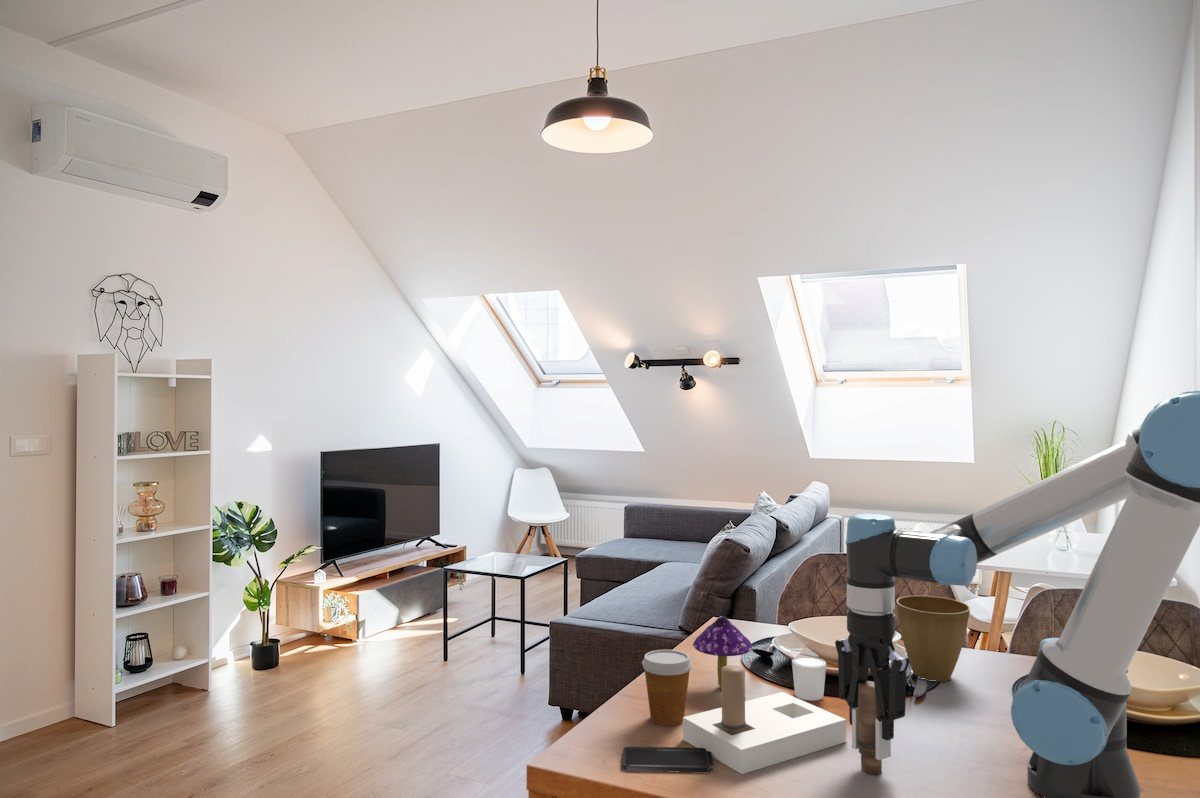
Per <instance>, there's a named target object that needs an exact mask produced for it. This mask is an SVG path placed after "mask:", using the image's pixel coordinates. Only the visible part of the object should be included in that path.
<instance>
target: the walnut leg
mask: <svg viewBox="0 0 1200 798" xmlns="http://www.w3.org/2000/svg"><path fill="white" fill-rule="evenodd" d="M879 716H880V715H879V709H878V703H877V697H876V691H875V685H874V680H873V681H872V680H867V681H863V682H859V683H858V744H859V748H858V753H859V754H860V757H861V758H860V766H861V767H860V769H861V772H862V773H864V774H867V775H870V776H877V775H878V776H879V775H881V774H882V771H883V770H882V765H883V763H882V762H883V761H882V760H883V759H882V760H877V759H876V735H875V718H877V717H879Z"/></svg>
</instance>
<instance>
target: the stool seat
mask: <svg viewBox="0 0 1200 798" xmlns="http://www.w3.org/2000/svg"><path fill="white" fill-rule="evenodd" d="M682 740H683V741H685V742H686V743H688V744H690V745H691V746H693V747H694V748H696V747H697V748H705V749H706V750H707V751H710V752H711V755H712V758H713V757H714V758H713V759H715V760H717V761H718V760H719V762H720V763H721V764H722V765H723V764H724V765H725V764H726V765H725V766H727V767H729V768H730V769H732V770H734V771H736V772H737V773H739V774H741V775H744V774H747V773H750V772H753V771H757V770H761V769H763V768H767V767H770V766H772V765H777V764H779V763H784V762H786V761H789V760H792V759H795V758H799V757H802V756H806V755H808V754H812V753H815V752H818V751H822V750H824V749H827V748H832V747H834V746H838V745H840V744H845V743H846V742H847V719H846V718H844V717H841V716H839V715H837V714H835V713H832V712H830V711H828V710H825V709H823V708H821V707H818V706H816V705H814V704H812V703H810V702H807V701H806V700H803V699H800V698H798V697H796V696H793V695H791V694H789V693H786V692H784V691H780V692H778V693H774V694H769V695H764V696H761V697H758V698H757V697H756V698H753V699H750V700H749V699H748V700H746V669H745V667H742V666H740V665H727V666H724V667H722V687H721V707H719V708H714V709H710V710H706V711H701V712H698V713H694V714H691V715H687V716H684V717H683V722H682Z"/></svg>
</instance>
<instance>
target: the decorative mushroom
mask: <svg viewBox="0 0 1200 798" xmlns="http://www.w3.org/2000/svg"><path fill="white" fill-rule="evenodd" d="M692 645H693V647H694V649H695V650H696V651H698V652H699V653H703V654H706V655H710V656H714V657H715V656H716V657H717V670H716V671H717V684H718V686H719V687H720V688H722V667H724V666H728V657H734V656H742V655H745V654H747V653H749V652H751V651H752V648H753V643H752V642H751V641H750V640H749V638H748V637H747V636H745V635H744V634H743V633H742V632H741V630H740V629H739V628H738V627H737V626H736V625H734V624H733V623H732V622H731V621H730V619H728V618H727V616H723V615H722V616H721V615H720V616H719V617H717V619H716V620H715V621H713V623H711V624H710V625H708V626H707V627H706V628H704V630H703V631H702V632H700V634H699V635H698V636H697V637H696V638H695V640H694V642H693V643H692Z"/></svg>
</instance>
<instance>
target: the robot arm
mask: <svg viewBox="0 0 1200 798" xmlns="http://www.w3.org/2000/svg"><path fill="white" fill-rule="evenodd" d="M1122 501H1125V502H1124V503H1123V505H1122V507H1121V510H1120V512H1119V514H1118V515H1117V518H1116V519H1115V522H1114V524H1113V526H1112V528H1111V531H1110V533H1109V535H1108V537H1107V539H1106V541H1105V543H1104V545H1103V547H1102V550H1101V551H1100V554H1099V555H1098V558H1097V560H1096V562H1095V564H1094V565H1093V567H1092V570H1091V572H1090V574H1089V577H1088V578H1087V581H1086V582H1085V584H1084V587H1083V588H1082V591H1081V593H1080V596H1078V599H1077V601H1076V604H1075V606H1074V607H1073V609H1072V612H1071V614H1070V616H1069V618H1068V619H1067V622H1066V624H1065V626H1064V628H1063V630H1062V633H1061V635H1060V637H1048V638H1044V639H1041V641H1040V644H1039V650H1038V652H1037V657H1036V658H1035V661H1034V663H1033V665H1032V667H1031V668H1030V671H1029V673H1028V675H1027V677H1026V678H1025V681H1024V683H1023V684H1022V685H1021V686H1020V687H1019V688H1017V690H1016V691H1015V693H1014V695H1013V698H1012V703H1011V706H1010V707H1011V708H1010V715H1011V722H1012V724H1013V727H1014V728H1015V731H1016V733H1017V735H1018V737H1019V738H1020V739H1021V741H1022V742H1023V743H1024V744H1025V746H1027V748H1028V749H1030V750H1031V751H1032V753H1031V756H1030V759H1029V761H1028V764H1027V784H1028V787H1030V789H1033V790H1032V791H1033V792H1034V793H1036V794H1037V793H1038V794H1037V795H1039V794H1040V795H1041V796H1040V795H1039V796H1040V797H1042V796H1043V797H1045V798H1141V793H1142V792H1141V785H1140V784H1139V781H1138V777H1137V775H1136V772H1135V768H1134V766H1133V763H1132V761H1131V757H1130V756H1129V753H1128V748H1127V747H1128V746H1127V732H1128V731H1127V730H1128V729H1127V728H1128V727H1127V725H1128V724H1127V723H1128V722H1127V721H1128V720H1127V700H1128V698H1129V697H1130V694H1131V693H1132V689H1133V687H1132V683H1131V682H1130V679H1129V678H1128V675H1127V673H1129V666H1130V664H1131V662H1132V661H1133V658H1134V656H1135V654H1136V652H1137V650H1138V648H1139V646H1140V645H1141V643H1142V641H1143V639H1144V637H1145V635H1146V633H1147V631H1148V628H1149V627H1150V625H1151V623H1152V621H1153V619H1154V616H1155V615H1156V614H1157V611H1158V609H1159V607H1160V605H1161V603H1162V601H1163V600H1164V597H1165V595H1166V593H1167V591H1168V590H1169V587H1170V585H1171V583H1172V582H1173V579H1174V578H1175V575H1176V573H1177V571H1178V569H1179V568H1180V565H1181V563H1182V562H1183V560H1184V557H1185V556H1186V554H1187V552H1188V550H1189V548H1190V546H1191V545H1192V544H1191V543H1192V542H1193V540H1194V538H1195V536H1196V534H1197V532H1198V530H1199V528H1200V390H1193V391H1185V392H1180V393H1177V394H1174V395H1171V396H1169V397H1167V398H1165V399H1162V400H1161V401H1160V402H1159V403H1157V405H1155V406H1154V407H1153V409H1151V410H1150V411H1149V412H1148V413H1147V415H1146V417H1145V418H1144V419H1143V421H1142V424H1141V425H1138V426H1136V427H1134V428H1132V429H1130V430H1129V431H1128V433H1127V437H1126V439H1125V440H1124V441H1121V442H1119V443H1117V444H1115V445H1113V446H1110V447H1109V448H1106V449H1105V450H1102V451H1101V452H1098V453H1096V454H1094V455H1092V456H1089V457H1087V458H1085V459H1083V460H1082V461H1080V462H1078V463H1075V464H1073V465H1071V466H1069V467H1067V468H1065V469H1062V470H1061V471H1058V472H1056V473H1054V474H1052V475H1049V476H1048V477H1046V478H1044V479H1042V480H1039V481H1037V482H1036V483H1033V484H1031V485H1029V486H1027V487H1025V488H1023V489H1021V490H1018V491H1017V492H1014V493H1012V494H1010V495H1008V496H1006V497H1004V498H1001V499H1000V500H998V501H995V502H993V503H992V504H990V505H989V504H988V505H987V506H985V507H983V508H980V509H978V510H976V511H974V512H973V513H971V514H968V515H966V516H963V517H962V518H959V519H958V520H955V521H953V522H951V523H948V524H946V525H944V526H942V527H941V528H937V529H935V530H932V531H930V532H920V531H919V532H918V531H909V530H908V531H906V530H901V529H897V527H896V525H895V519H894V518H893V517H892V516H890V515H884V514H881V513H880V514H878V513H861V514H860V513H858V514H855V515H851V516H850V517H849V518H848V520H847V523H846V524H847V525H846V527H847V528H846V540H845V545H846V606H847V607H848V609H847V610H846V629H847V632H848V637H846V638H845V637H844V638H839V639H836V640H835V642H834V645H835V648H836V652H837V665H838V696H839V699H840V700H844V701H845V702H846V703H847V705H848V707H849V708H848V709H849V712H848V713H849V714H848V715H849V718H848V719H849V724H850V726H851V729H852V730H851V738H852V739H851V742H852V743H851V744H852V746H851V747H852V749H854V750H857V749H858V750H859V744H858V683H859V682H863V681H868V674H870V676H871V677H873V682H874V685H875V691H876V697H877V703H878V709H879V715H880V716H879V717H877V718H875V735H876V759H877V760H885V759H887V758H890V757H892V747H891V746H892V745H891V744H892V742H891V741H892V740H893V739H894V737H895V736H894V735H895V720H899V719H901V718H905V716H906V697H907V696H906V693H907V692H906V691H907V690H906V687H907V670H908V667H909V665H910V662H909V659H908V656H903V657H902V656H901V655H899V654H898V652H896V648H895V646H894V642H893V639H894V637H895V634H896V614H895V613H894V610H895V609H896V604H895V603H896V602H895V601H896V594H895V591H896V589H895V587H896V586H895V585H896V580H895V579H896V578H898V579H899V578H900V579H906V580H907V579H908V580H912V581H914V580H915V581H921V582H927V583H934V584H939V585H943V586H961V587H965V586H968V585H970V584H971V583H972V582H973V579H974V577H975V575H976V573H977V566H978V564H980V563H982V562H984V561H987V560H989V559H991V558H993V557H996V556H997V555H999V554H1002V553H1004V552H1006V551H1009V550H1011V549H1013V548H1016V547H1018V546H1020V545H1023V544H1025V543H1027V542H1030V541H1031V540H1034V539H1036V538H1038V537H1040V536H1043V535H1045V534H1048V533H1051V532H1052V531H1055V530H1058V529H1059V528H1061V527H1064V526H1067V525H1069V524H1070V523H1071V524H1072V523H1073V522H1076V521H1078V520H1080V519H1082V518H1085V517H1088V516H1090V515H1092V514H1094V513H1096V512H1098V511H1100V510H1103V509H1106V508H1107V507H1111V506H1112V505H1116V504H1117V503H1121V502H1122ZM869 672H870V673H869ZM1043 797H1042V798H1043Z"/></svg>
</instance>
